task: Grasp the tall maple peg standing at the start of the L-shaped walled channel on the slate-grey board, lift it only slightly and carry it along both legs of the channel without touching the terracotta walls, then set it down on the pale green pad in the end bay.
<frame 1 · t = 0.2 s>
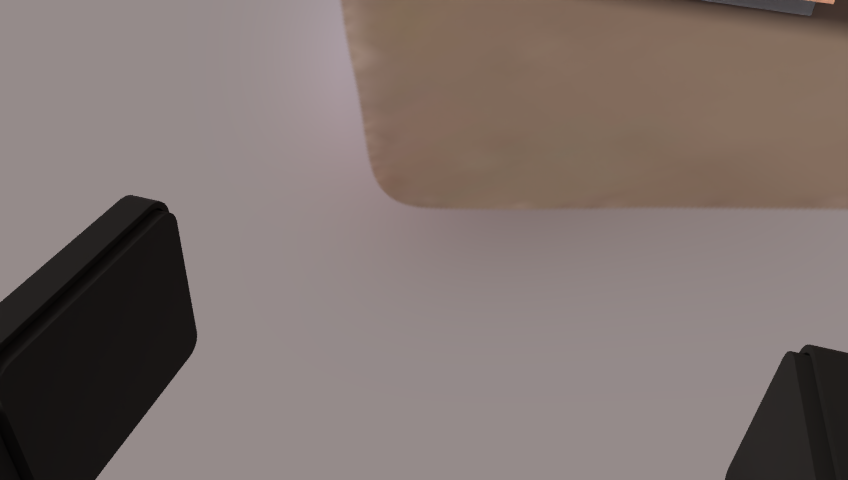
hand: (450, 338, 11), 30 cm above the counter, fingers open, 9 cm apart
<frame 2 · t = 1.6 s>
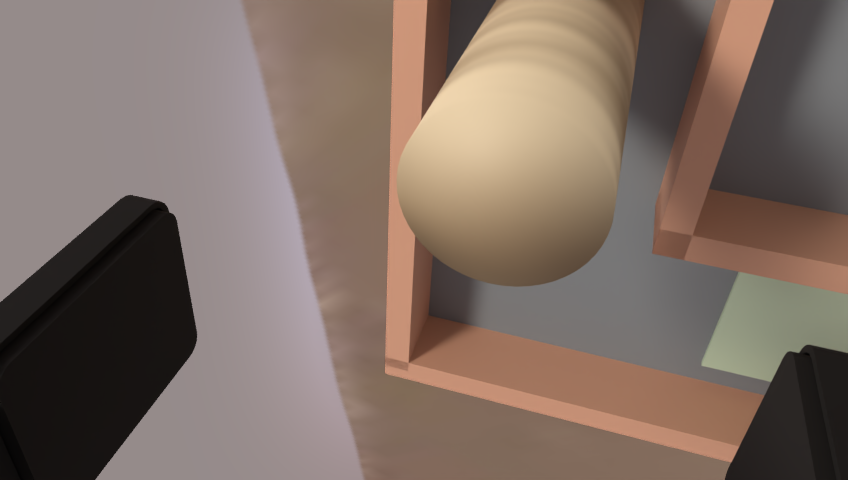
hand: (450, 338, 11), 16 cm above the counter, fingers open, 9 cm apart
track: (692, 176, 26), on the counter
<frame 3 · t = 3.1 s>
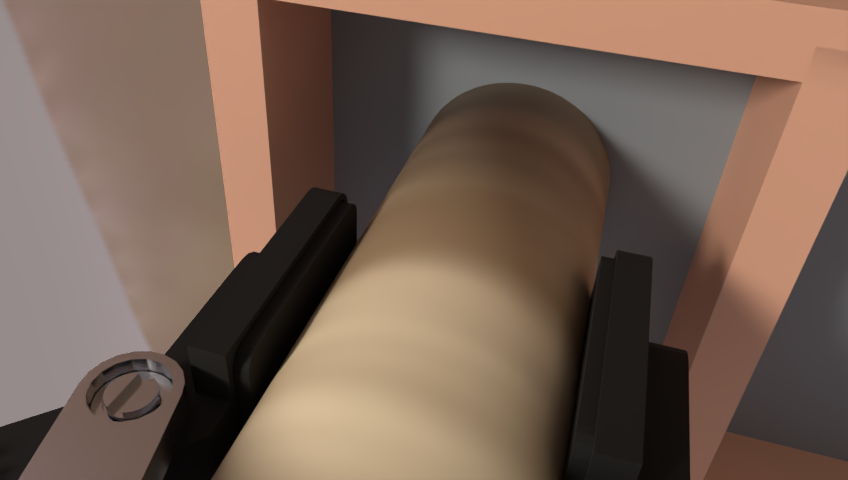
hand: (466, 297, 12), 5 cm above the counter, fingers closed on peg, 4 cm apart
track: (681, 402, 18), on the counter
peg: (512, 172, 15), point 1 cm above the counter, touching gripper, track
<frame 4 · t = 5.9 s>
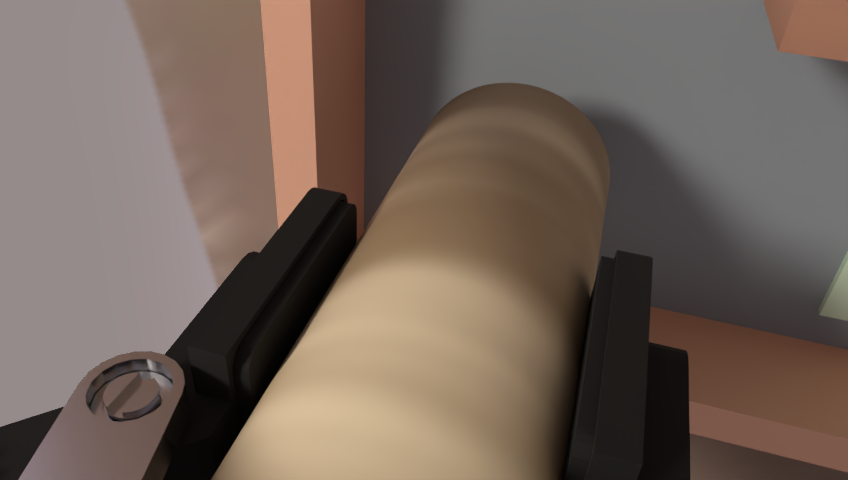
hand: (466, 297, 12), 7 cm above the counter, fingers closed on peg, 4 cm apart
peg: (512, 172, 15), point 3 cm above the counter, touching gripper
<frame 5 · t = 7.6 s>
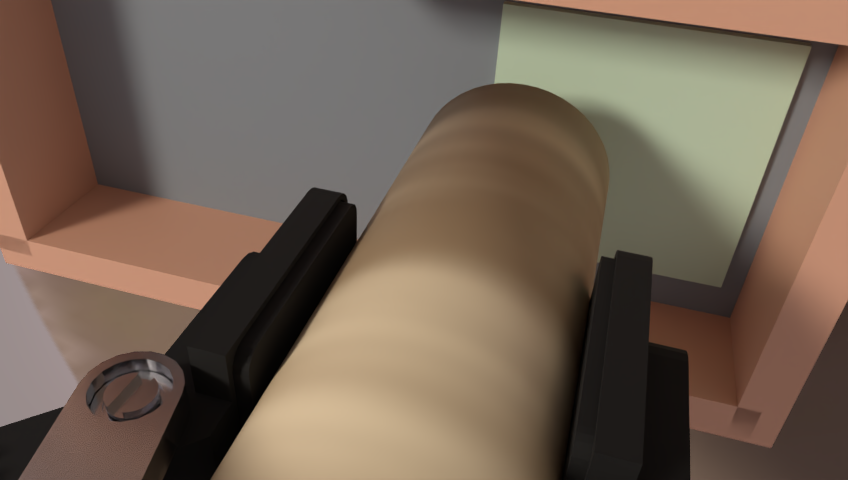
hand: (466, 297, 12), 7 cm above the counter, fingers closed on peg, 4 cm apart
peg: (511, 173, 15), point 3 cm above the counter, touching gripper
when the fingers open (6 cm above the counter, at t = 8.8 s): peg stays where it is, resting on track.
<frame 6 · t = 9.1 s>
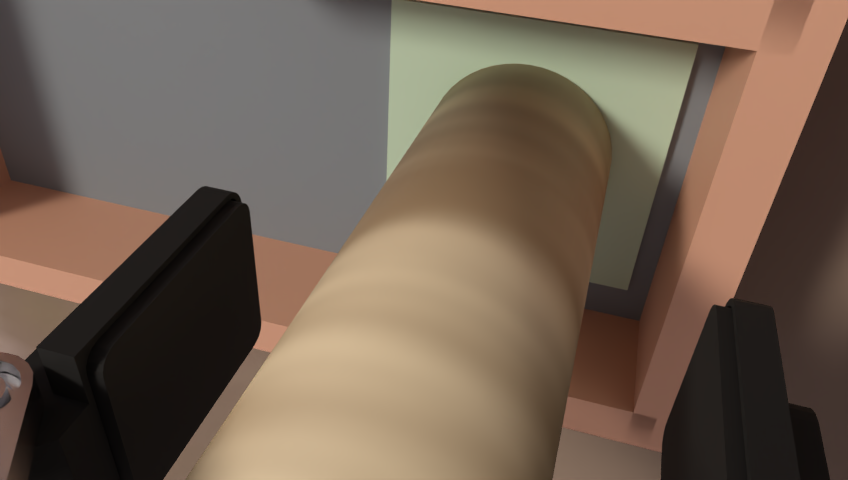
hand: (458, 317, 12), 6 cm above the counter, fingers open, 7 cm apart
peg: (517, 152, 16), point 1 cm above the counter, touching track
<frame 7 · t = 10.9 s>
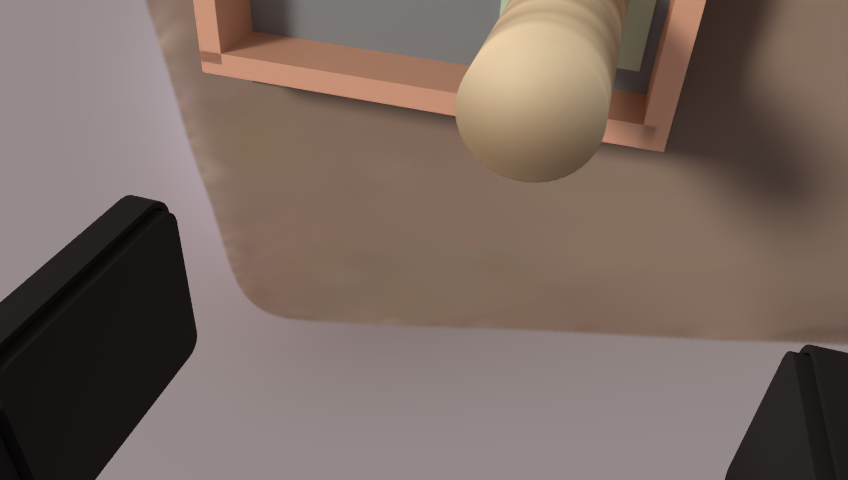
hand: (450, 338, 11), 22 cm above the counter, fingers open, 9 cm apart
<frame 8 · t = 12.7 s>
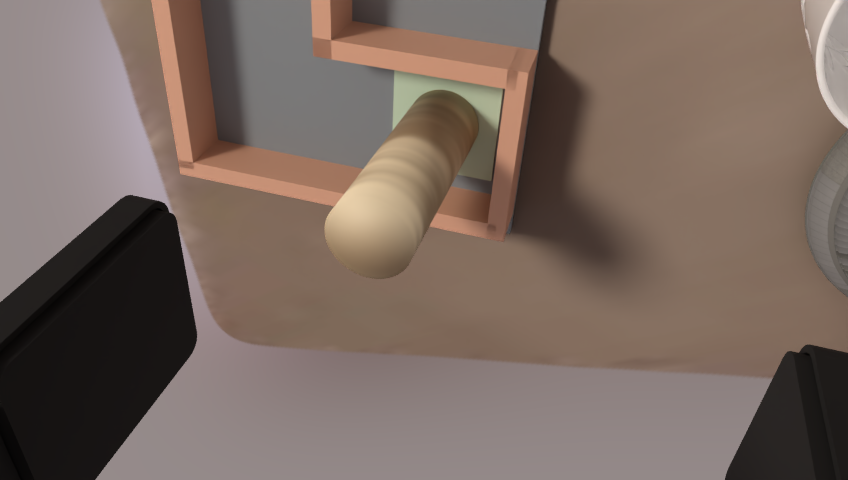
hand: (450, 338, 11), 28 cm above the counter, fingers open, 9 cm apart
track: (356, 17, 39), on the counter
peg: (443, 123, 40), point 1 cm above the counter, touching track
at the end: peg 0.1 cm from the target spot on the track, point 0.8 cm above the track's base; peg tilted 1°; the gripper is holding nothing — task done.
